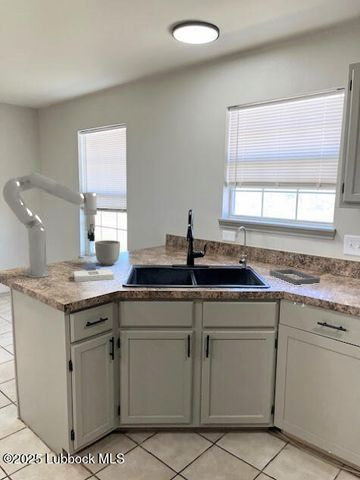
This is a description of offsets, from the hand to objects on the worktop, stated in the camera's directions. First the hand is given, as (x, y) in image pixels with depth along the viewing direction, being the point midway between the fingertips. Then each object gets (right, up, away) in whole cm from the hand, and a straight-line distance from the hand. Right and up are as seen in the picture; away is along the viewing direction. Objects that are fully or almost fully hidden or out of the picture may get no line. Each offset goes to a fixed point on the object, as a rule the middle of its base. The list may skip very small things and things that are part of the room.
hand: (91, 240), depth 227 cm
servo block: (-1, -21, +3) cm, 21 cm away
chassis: (+4, -23, -9) cm, 25 cm away
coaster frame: (+126, -25, -2) cm, 128 cm away
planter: (+5, -18, +28) cm, 34 cm away
